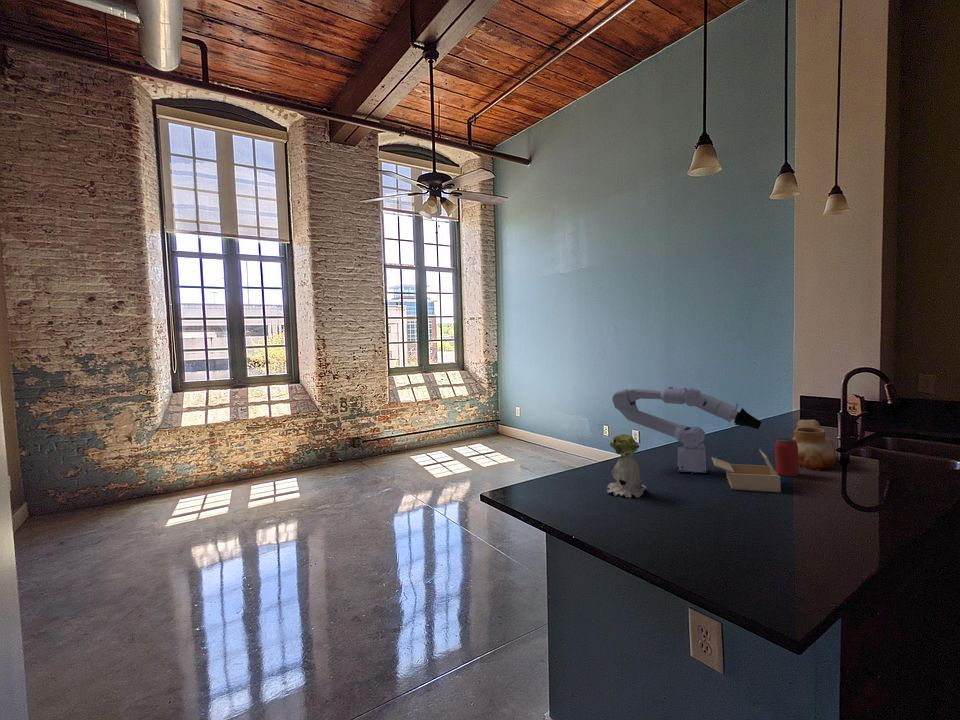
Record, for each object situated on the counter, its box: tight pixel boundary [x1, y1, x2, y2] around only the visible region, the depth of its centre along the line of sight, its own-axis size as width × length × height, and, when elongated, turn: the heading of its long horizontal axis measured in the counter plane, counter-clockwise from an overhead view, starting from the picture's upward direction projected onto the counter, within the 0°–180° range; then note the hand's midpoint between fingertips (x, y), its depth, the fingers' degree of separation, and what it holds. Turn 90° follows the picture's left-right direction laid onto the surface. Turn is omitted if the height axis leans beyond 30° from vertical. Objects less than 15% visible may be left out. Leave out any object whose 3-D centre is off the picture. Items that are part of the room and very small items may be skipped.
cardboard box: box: [725, 463, 782, 493], centre depth 148 cm, size 13×13×5 cm
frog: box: [606, 433, 647, 499], centre depth 148 cm, size 12×13×18 cm
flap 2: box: [758, 449, 776, 475], centre depth 146 cm, size 6×11×1 cm
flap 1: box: [711, 456, 734, 473], centre depth 151 cm, size 6×11×1 cm, turn 157°
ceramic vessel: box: [791, 419, 837, 470], centre depth 172 cm, size 14×26×15 cm, turn 148°
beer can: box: [774, 437, 800, 477], centre depth 158 cm, size 7×7×12 cm
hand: (760, 425), depth 155 cm, fingers open, 7 cm apart
